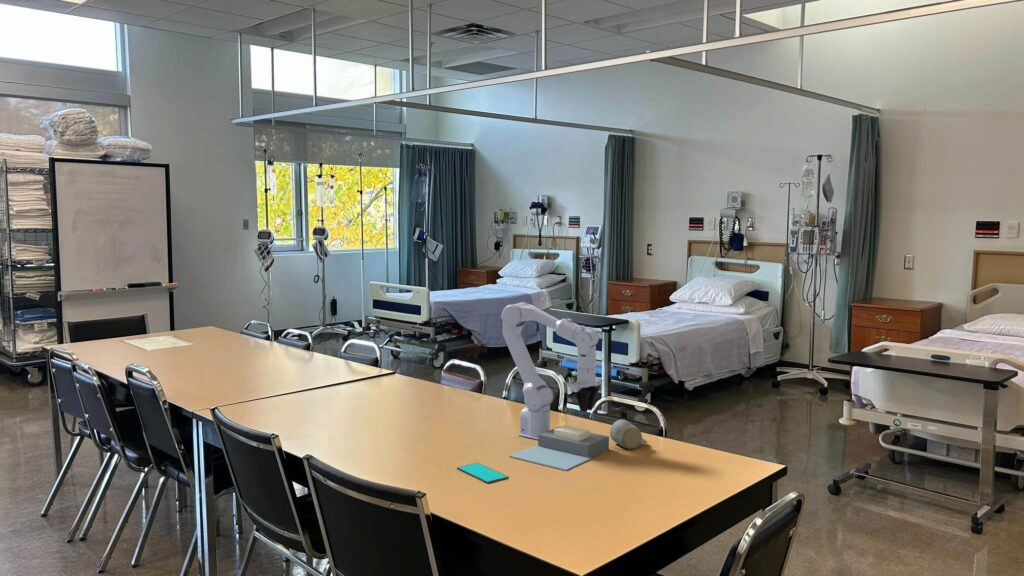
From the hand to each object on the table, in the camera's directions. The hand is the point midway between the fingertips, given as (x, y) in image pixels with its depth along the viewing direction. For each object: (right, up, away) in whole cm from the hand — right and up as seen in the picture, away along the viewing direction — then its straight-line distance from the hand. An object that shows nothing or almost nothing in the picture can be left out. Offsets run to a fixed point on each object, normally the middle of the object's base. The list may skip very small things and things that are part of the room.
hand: (586, 410), depth 233 cm
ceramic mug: (+14, -11, -2) cm, 17 cm away
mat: (-12, -12, -14) cm, 22 cm away
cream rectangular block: (-5, -7, -6) cm, 10 cm away
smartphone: (-31, -13, -28) cm, 44 cm away
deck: (-4, -11, -5) cm, 13 cm away
